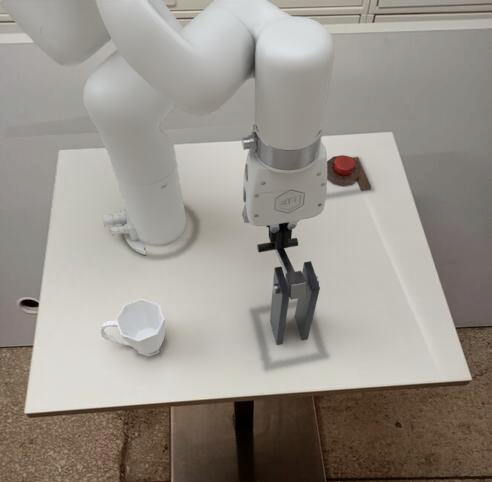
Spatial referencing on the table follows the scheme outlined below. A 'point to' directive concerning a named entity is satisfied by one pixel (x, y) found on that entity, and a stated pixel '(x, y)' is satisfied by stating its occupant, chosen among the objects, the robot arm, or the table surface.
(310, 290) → the bracket
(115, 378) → the table surface
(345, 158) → the button
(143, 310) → the cup
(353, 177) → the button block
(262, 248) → the lever
